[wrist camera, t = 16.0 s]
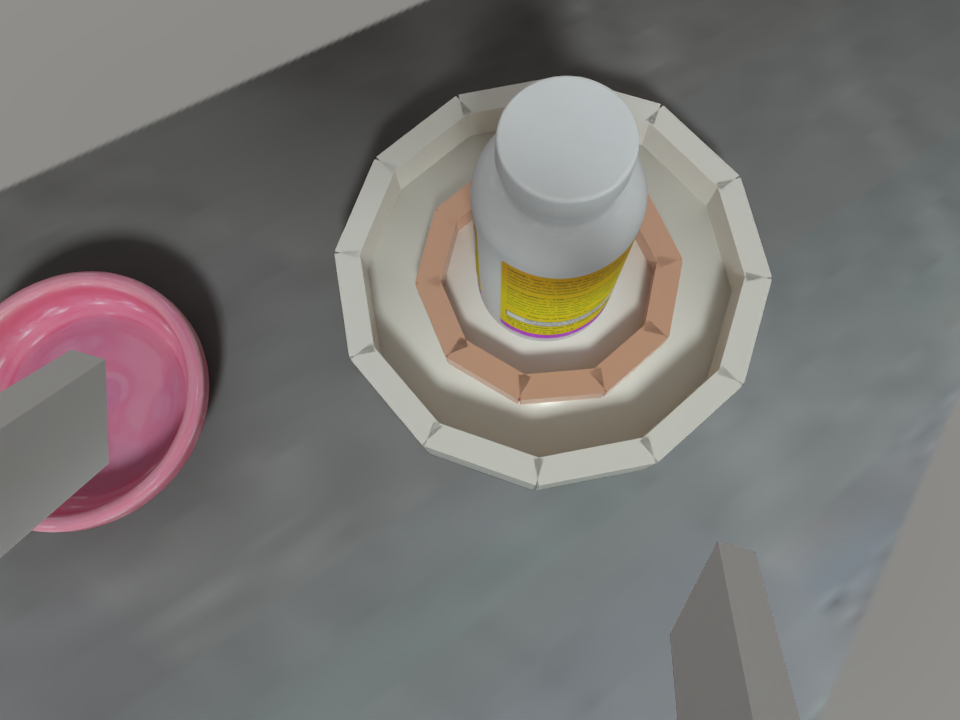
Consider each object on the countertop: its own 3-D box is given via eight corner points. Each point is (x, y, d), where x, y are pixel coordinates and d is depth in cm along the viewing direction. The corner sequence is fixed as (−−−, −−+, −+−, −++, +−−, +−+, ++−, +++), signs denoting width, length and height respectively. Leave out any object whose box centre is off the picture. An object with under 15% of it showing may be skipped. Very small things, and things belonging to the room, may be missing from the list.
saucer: (270, 440, 35) (247, 431, 31) (45, 584, 33) (-2, 589, 30) (159, 249, 37) (128, 223, 34) (-53, 374, 36) (-105, 358, 33)
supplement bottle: (636, 303, 34) (714, 169, 22) (521, 369, 34) (534, 270, 21) (564, 197, 36) (599, 17, 23) (453, 259, 35) (428, 106, 23)
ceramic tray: (276, 271, 37) (257, 247, 34) (559, 52, 39) (563, 13, 36) (529, 572, 32) (532, 576, 29) (826, 304, 35) (855, 283, 32)
